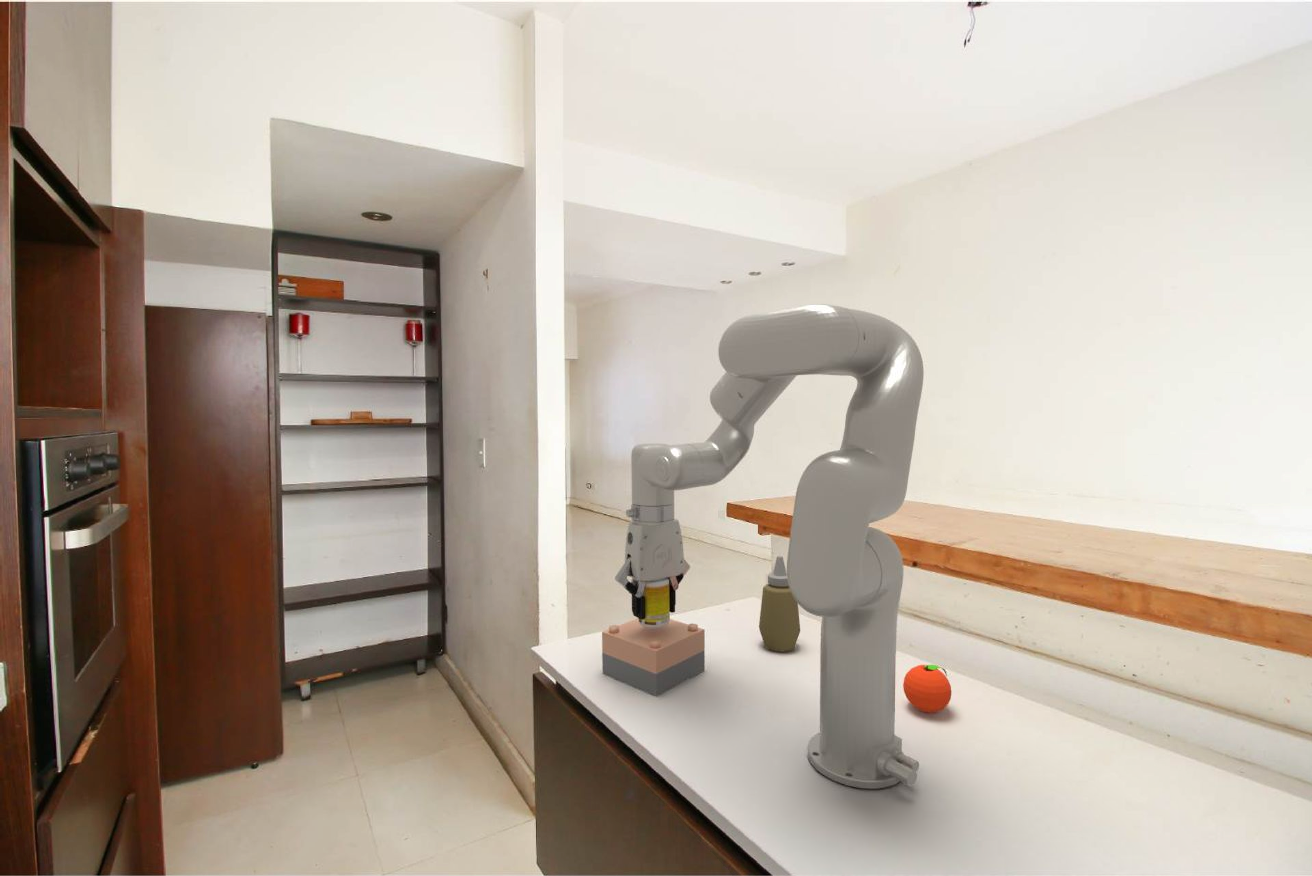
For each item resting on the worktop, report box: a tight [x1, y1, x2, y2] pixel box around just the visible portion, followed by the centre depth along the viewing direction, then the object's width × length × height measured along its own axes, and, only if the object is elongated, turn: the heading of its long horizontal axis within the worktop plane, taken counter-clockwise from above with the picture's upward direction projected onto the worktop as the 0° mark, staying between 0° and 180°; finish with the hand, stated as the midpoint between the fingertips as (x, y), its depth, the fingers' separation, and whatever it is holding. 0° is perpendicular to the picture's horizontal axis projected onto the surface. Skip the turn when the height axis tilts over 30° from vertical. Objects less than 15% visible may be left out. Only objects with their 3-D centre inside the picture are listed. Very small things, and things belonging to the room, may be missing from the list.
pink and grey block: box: [601, 618, 706, 697], centre depth 109 cm, size 13×13×8 cm
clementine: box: [902, 664, 952, 714], centre depth 95 cm, size 8×7×7 cm
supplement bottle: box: [639, 578, 671, 628], centre depth 109 cm, size 6×6×10 cm
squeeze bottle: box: [758, 556, 801, 652], centre depth 120 cm, size 8×8×18 cm
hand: (654, 612), depth 109 cm, fingers closed on supplement bottle, 5 cm apart
